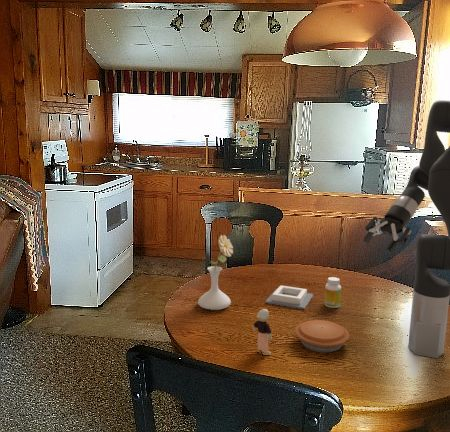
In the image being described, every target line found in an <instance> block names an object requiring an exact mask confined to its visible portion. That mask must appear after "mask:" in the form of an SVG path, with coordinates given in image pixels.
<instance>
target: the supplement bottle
mask: <svg viewBox="0 0 450 432" xmlns="http://www.w3.org/2000/svg"><path fill="white" fill-rule="evenodd" d="M340 282H341V281H340V278H339V277H335V276H331V277H330V276H329V277H328V278H327V283H326V284H325V289H324V305H325V306H326V307H327V308H332V309H336V308H339V307H341V297H342V295H341V294H342V285H340Z"/></svg>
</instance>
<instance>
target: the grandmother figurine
mask: <svg viewBox="0 0 450 432" xmlns="http://www.w3.org/2000/svg"><path fill="white" fill-rule="evenodd" d="M269 315H270V313H269V310H268V309H267V308H262V309H260V310H259V311H258V313H257V314H256V318H257V319H259V320H256V321H255V322H254V323H253V326H252V330H253V331H256V330H257V333H258V334H257V351H258V352H262V351H263V352H262V353H261V355H262V354H263V355H270V354H271V355H272V352H271V350H269V341H273V337H272V330H271V326H270V324H269V323H268V320H269ZM271 355H270V356H271Z"/></svg>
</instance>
